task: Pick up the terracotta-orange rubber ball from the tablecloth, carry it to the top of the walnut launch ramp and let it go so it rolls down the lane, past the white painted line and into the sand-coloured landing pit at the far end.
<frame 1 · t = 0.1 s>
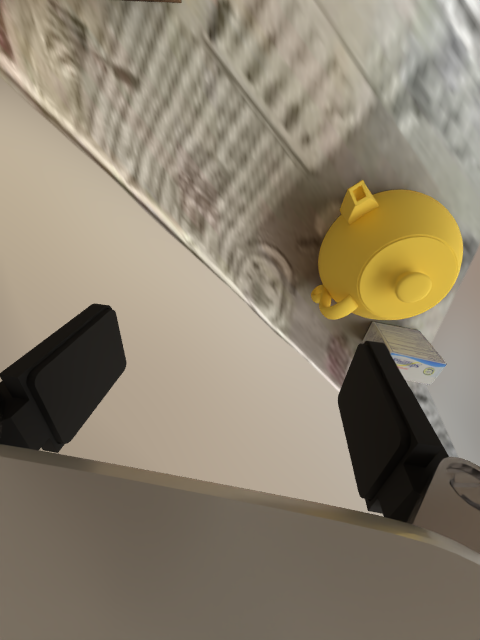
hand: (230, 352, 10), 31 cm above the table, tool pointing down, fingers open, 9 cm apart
teapot: (362, 246, 37), on the table
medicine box: (389, 334, 44), on the table
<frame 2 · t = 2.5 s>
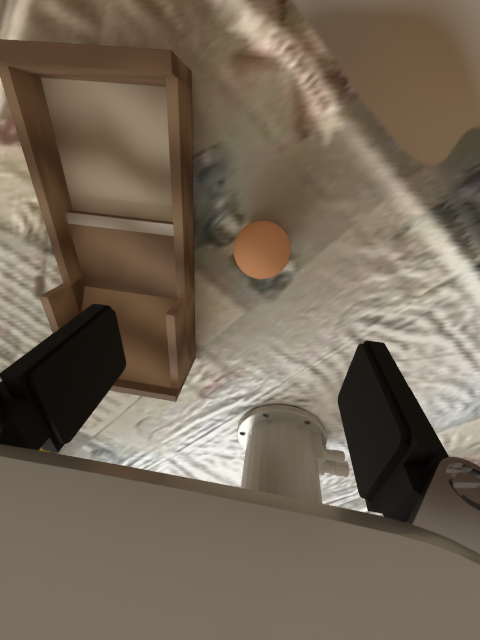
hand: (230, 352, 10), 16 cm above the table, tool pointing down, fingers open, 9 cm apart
ball: (261, 250, 22), point 2 cm above the table
lane: (133, 247, 26), on the table
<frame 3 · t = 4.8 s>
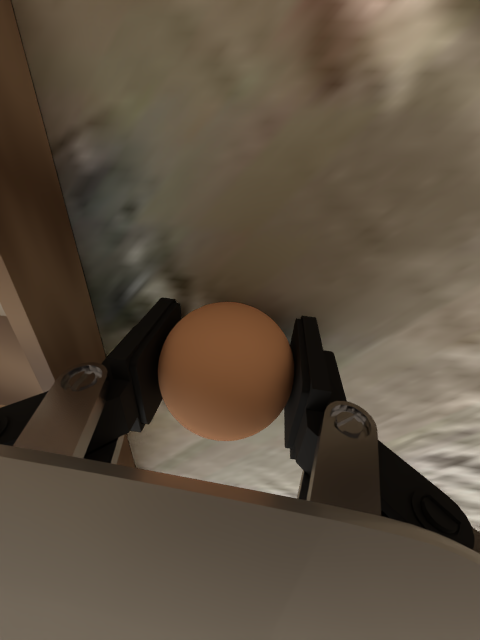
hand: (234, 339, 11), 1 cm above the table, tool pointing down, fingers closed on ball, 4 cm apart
ball: (227, 367, 9), point 2 cm above the table, touching gripper
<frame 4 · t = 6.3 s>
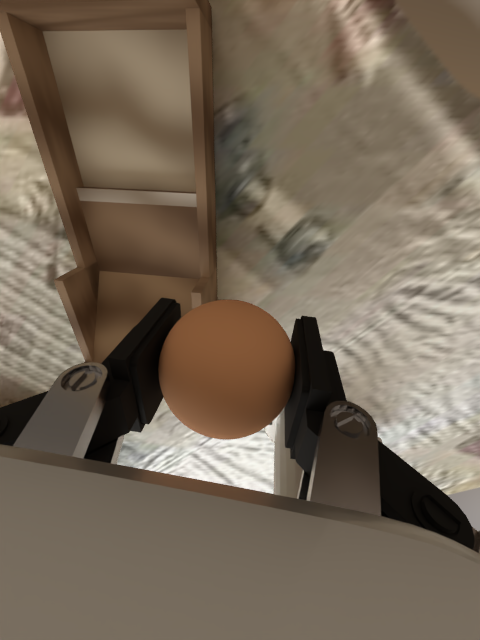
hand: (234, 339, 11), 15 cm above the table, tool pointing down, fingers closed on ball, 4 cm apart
ball: (227, 366, 9), point 17 cm above the table, touching gripper
lane: (149, 225, 24), on the table
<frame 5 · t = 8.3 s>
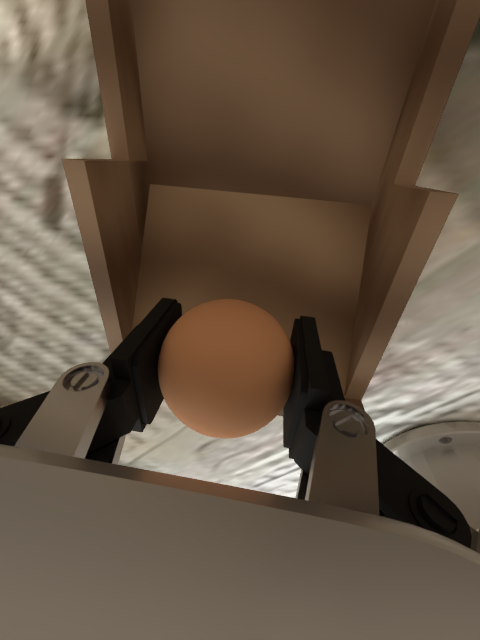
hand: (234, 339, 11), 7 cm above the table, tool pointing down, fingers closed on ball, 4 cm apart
ball: (227, 365, 9), point 8 cm above the table, touching gripper
lane: (270, 78, 11), on the table
when the fingers open (7 cm above the table, at t = 8.3 s): ball drops 6 cm and tips over, resting on lane.
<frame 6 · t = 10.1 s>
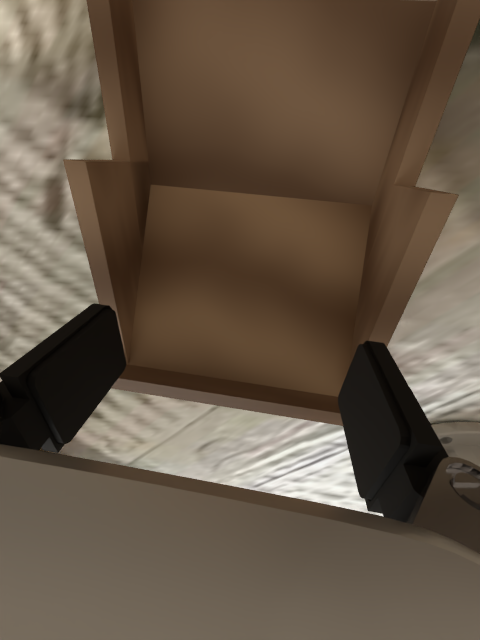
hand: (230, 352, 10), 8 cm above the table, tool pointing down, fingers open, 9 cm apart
lane: (270, 79, 11), on the table
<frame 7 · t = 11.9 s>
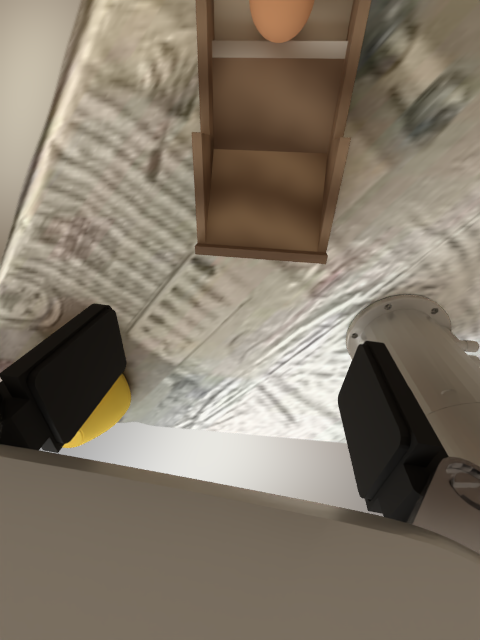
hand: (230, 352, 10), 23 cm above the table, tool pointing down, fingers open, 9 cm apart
teapot: (93, 370, 47), on the table
lane: (274, 92, 24), on the table
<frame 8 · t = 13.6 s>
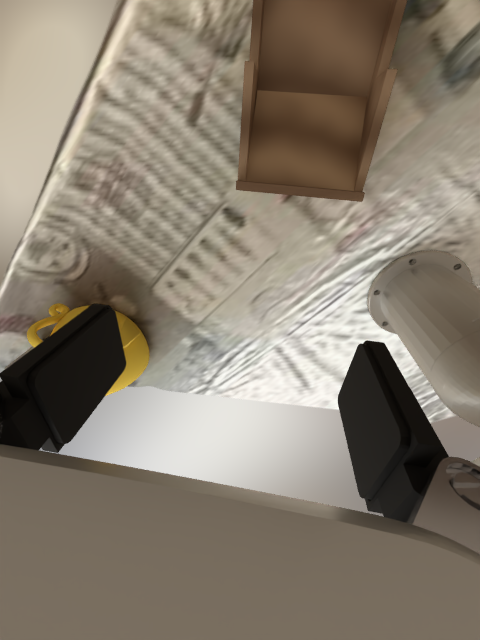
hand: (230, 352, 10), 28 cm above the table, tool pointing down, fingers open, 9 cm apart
teapot: (113, 329, 48), on the table
lane: (320, 34, 25), on the table
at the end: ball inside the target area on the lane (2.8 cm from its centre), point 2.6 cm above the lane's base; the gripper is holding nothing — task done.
